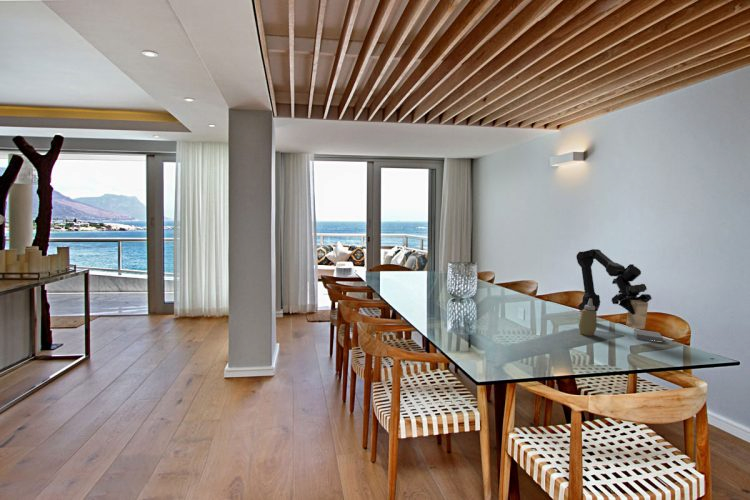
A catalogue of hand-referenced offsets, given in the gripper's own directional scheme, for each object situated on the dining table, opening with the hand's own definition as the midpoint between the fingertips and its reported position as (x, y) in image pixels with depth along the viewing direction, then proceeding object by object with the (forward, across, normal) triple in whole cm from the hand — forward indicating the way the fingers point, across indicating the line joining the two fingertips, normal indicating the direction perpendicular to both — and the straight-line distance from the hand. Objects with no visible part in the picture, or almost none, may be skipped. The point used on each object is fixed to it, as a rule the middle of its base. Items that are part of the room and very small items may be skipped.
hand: (639, 314), depth 215 cm
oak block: (+4, 0, +6) cm, 7 cm away
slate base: (+6, +11, +13) cm, 18 cm away
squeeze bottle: (+2, -18, +18) cm, 26 cm away
